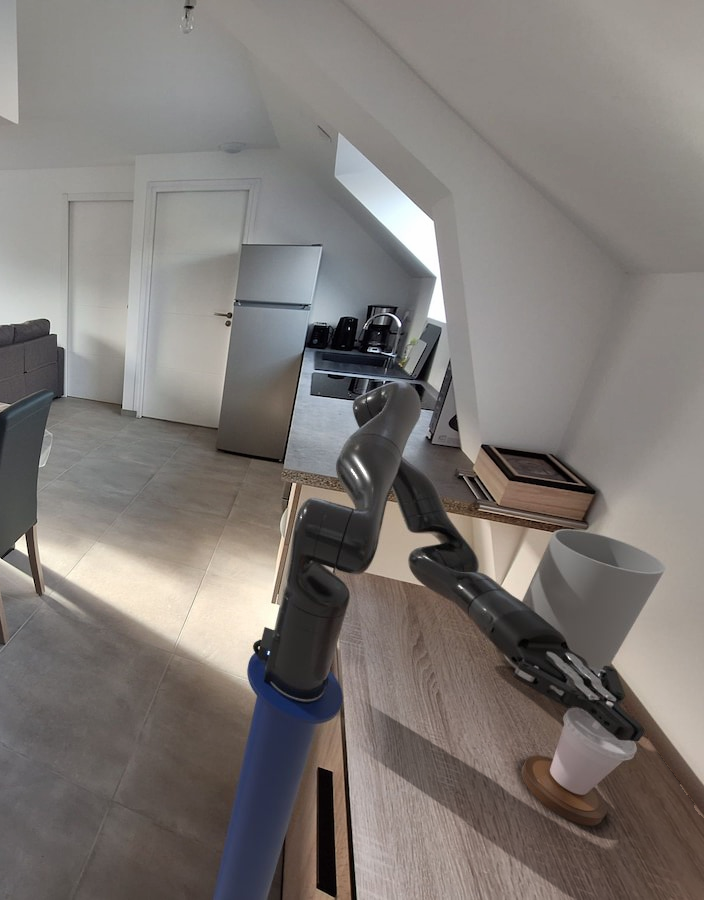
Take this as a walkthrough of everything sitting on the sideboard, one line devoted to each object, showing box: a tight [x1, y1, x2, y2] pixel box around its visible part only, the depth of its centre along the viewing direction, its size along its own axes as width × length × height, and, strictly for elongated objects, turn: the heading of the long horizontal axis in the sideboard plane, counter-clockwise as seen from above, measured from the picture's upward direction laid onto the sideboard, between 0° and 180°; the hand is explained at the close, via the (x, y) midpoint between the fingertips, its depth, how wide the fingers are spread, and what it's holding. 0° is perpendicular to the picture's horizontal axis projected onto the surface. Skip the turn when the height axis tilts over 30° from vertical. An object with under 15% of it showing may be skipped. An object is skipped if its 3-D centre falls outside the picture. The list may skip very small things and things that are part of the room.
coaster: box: [520, 755, 608, 827], centre depth 61 cm, size 8×8×2 cm
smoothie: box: [550, 701, 638, 795], centre depth 58 cm, size 6×6×14 cm
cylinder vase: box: [503, 528, 666, 692], centre depth 77 cm, size 12×12×25 cm
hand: (632, 735), depth 53 cm, fingers closed on smoothie, 1 cm apart
